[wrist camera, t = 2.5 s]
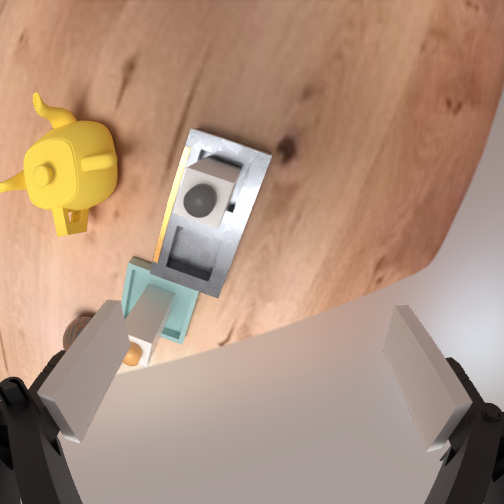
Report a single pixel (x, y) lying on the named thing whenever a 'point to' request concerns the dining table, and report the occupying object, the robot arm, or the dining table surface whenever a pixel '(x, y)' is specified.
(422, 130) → the dining table surface
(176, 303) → the tray
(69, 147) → the teapot
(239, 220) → the grey socket base
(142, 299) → the plug
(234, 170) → the twin plug
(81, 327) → the vase
